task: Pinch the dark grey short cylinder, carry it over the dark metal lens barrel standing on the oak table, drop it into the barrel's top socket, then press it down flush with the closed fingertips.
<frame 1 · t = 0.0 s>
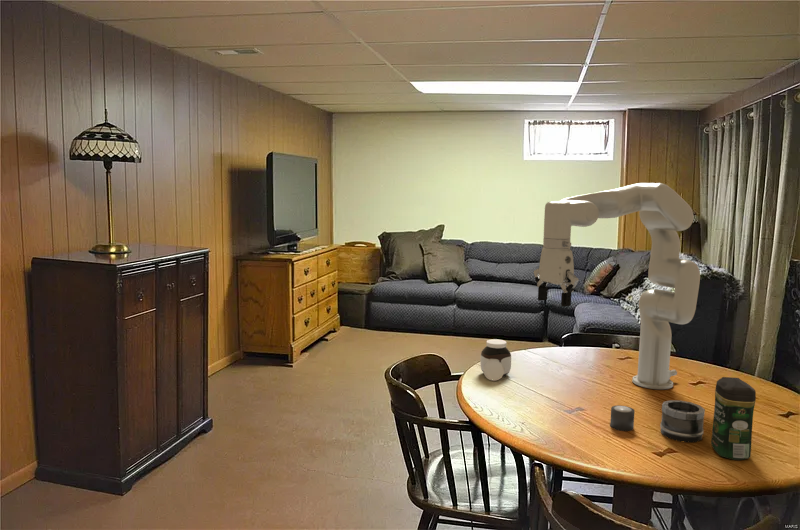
hand: (553, 303, 178), 31 cm above the table, tool pointing down, fingers open, 9 cm apart
coffee jar: (729, 453, 152), on the table
spread jar: (495, 376, 210), on the table
dark grey short cylinder: (621, 426, 168), on the table
lens barrel: (681, 434, 163), on the table
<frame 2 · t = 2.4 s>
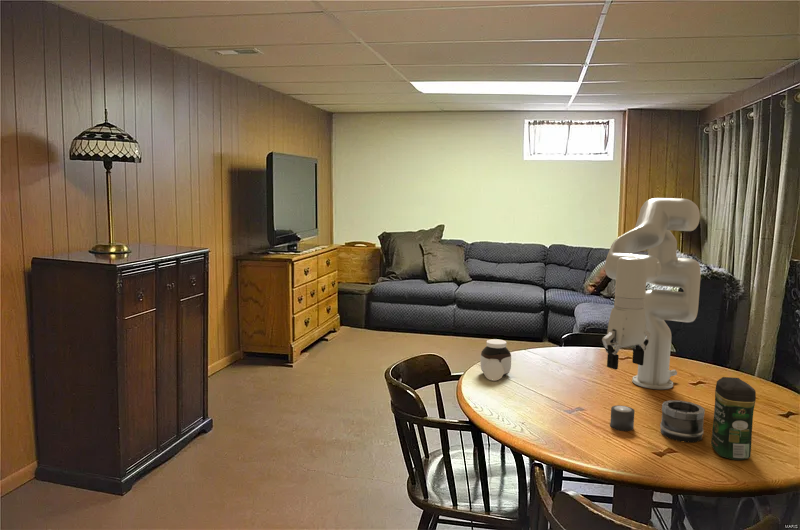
hand: (625, 366, 165), 17 cm above the table, tool pointing down, fingers open, 9 cm apart
nothing on the table moved.
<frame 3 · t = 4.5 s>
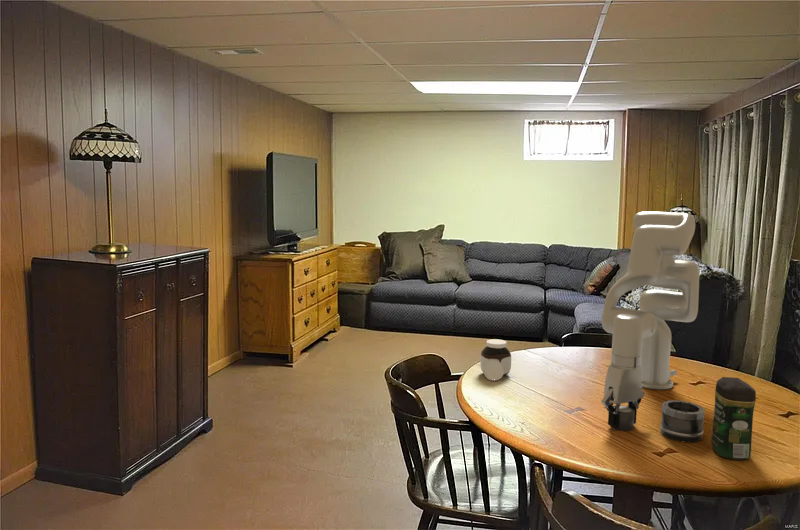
hand: (621, 423, 167), 1 cm above the table, tool pointing down, fingers closed on dark grey short cylinder, 6 cm apart
dark grey short cylinder: (621, 426, 168), on the table, touching gripper
everything else where it was.
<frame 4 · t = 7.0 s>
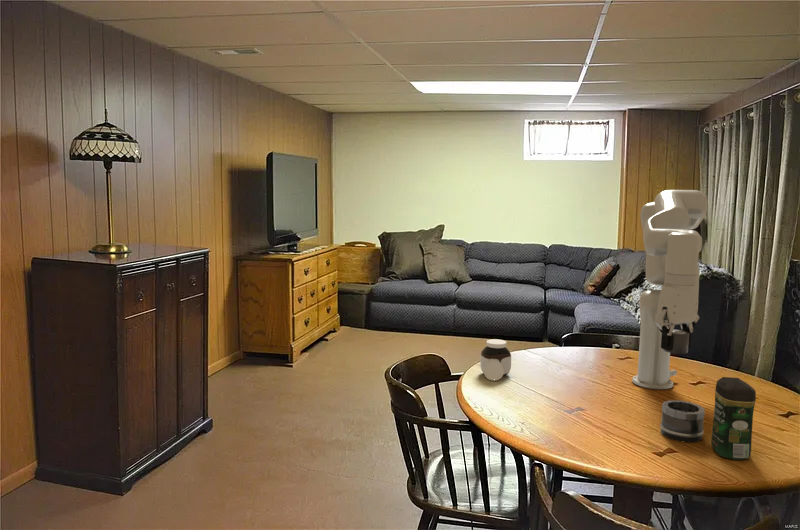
hand: (675, 347, 161), 23 cm above the table, tool pointing down, fingers closed on dark grey short cylinder, 6 cm apart
dark grey short cylinder: (675, 350, 161), point 23 cm above the table, touching gripper
everything else where it was.
when the fingers open (9 cm above the table, at t = 9.6 s): dark grey short cylinder drops 2 cm, resting on lens barrel.
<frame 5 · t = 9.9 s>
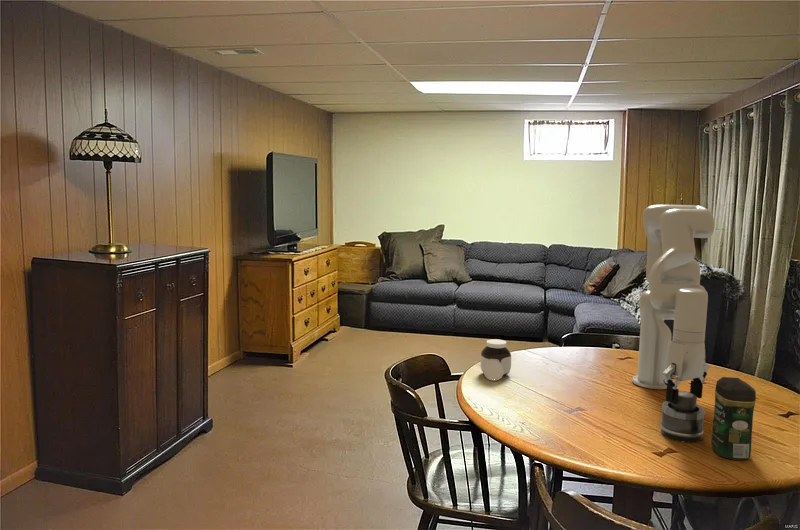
hand: (683, 399, 161), 10 cm above the table, tool pointing down, fingers open, 9 cm apart
dark grey short cylinder: (682, 412, 162), point 6 cm above the table, touching lens barrel
everything else where it was.
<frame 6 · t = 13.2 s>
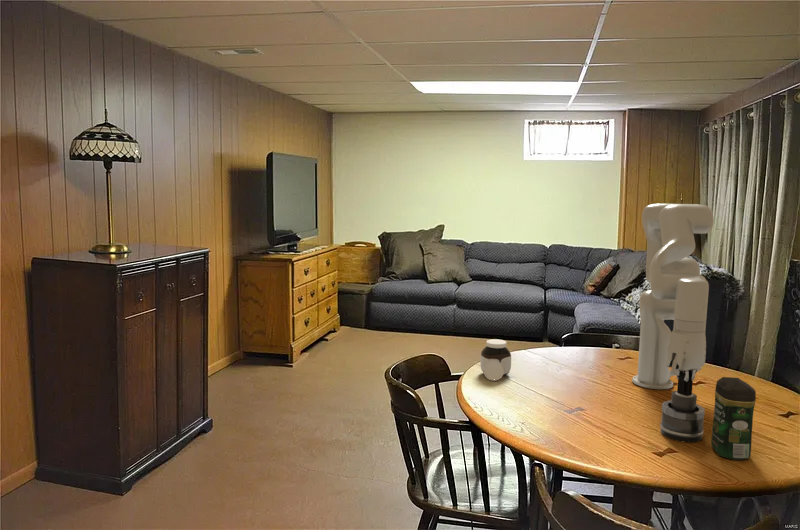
hand: (684, 394, 161), 11 cm above the table, tool pointing down, fingers closed
dark grey short cylinder: (682, 412, 162), point 6 cm above the table, touching gripper, lens barrel
everything else where it was.
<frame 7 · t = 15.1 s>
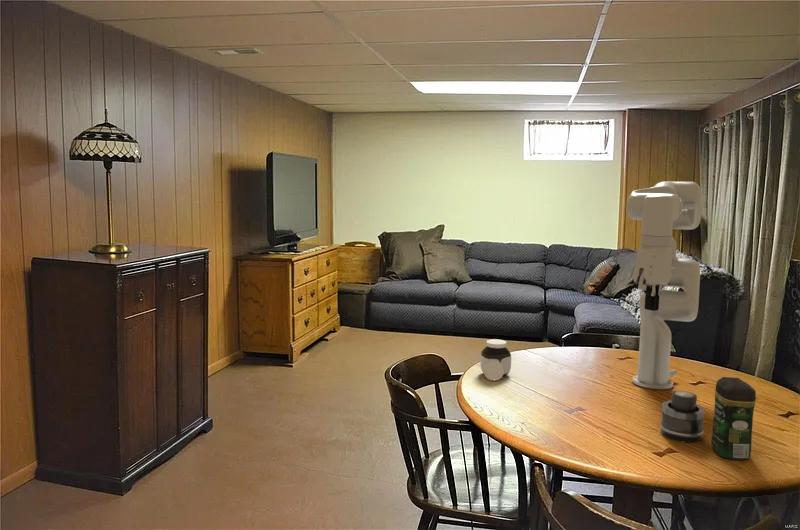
hand: (651, 309, 165), 32 cm above the table, tool pointing down, fingers closed
dark grey short cylinder: (682, 412, 162), point 6 cm above the table, touching lens barrel
everything else where it was.
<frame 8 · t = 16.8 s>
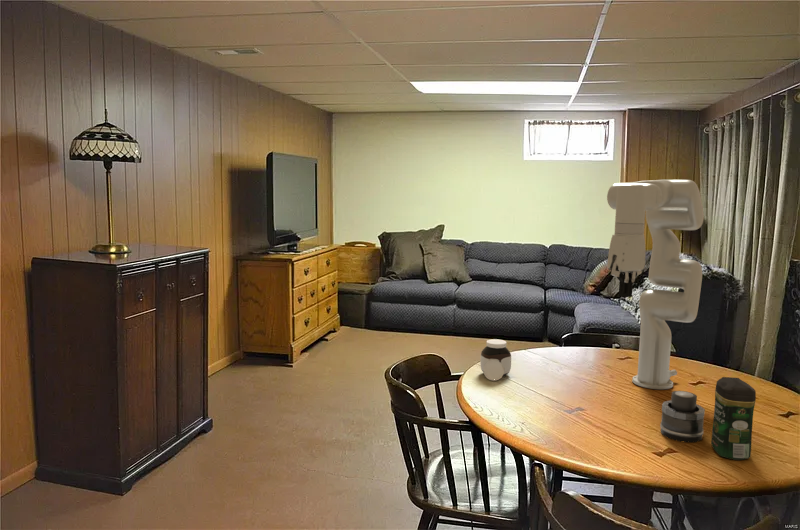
hand: (625, 296, 169), 35 cm above the table, tool pointing down, fingers closed
nothing on the table moved.
at the end: dark grey short cylinder 0.0 cm off-centre on the lens barrel, point 6.0 cm above the lens barrel's base; dark grey short cylinder tilted 0°; the gripper is holding nothing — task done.
